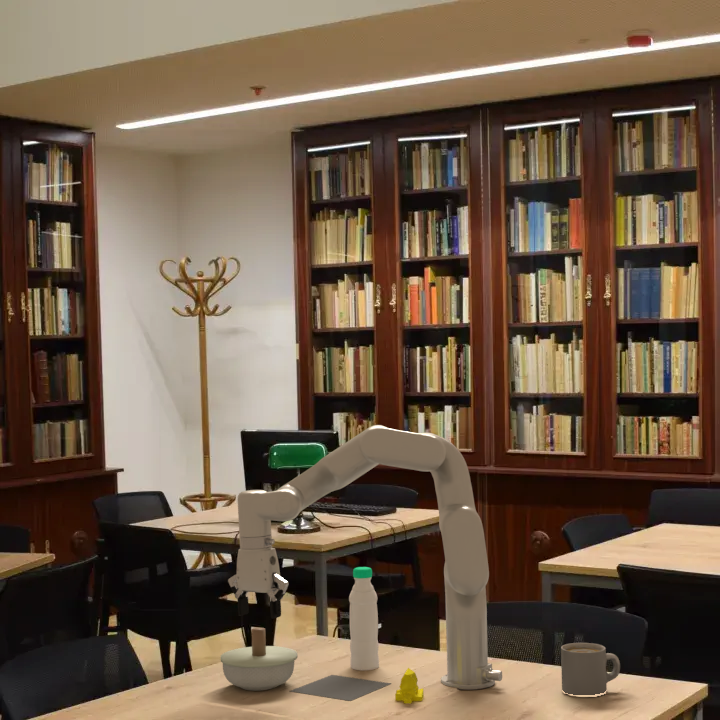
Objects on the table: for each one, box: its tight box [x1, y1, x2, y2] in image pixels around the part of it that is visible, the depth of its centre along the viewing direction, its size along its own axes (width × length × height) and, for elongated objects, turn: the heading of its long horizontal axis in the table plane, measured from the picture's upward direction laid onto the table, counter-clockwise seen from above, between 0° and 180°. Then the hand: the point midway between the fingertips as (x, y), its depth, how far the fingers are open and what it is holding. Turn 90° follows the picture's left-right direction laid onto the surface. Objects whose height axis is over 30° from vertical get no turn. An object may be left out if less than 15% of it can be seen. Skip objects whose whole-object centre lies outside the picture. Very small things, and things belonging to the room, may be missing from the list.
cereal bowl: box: [222, 660, 295, 692], centre depth 277 cm, size 17×17×7 cm
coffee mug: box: [560, 642, 621, 695], centre depth 266 cm, size 13×10×10 cm
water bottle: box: [348, 566, 380, 671], centre depth 292 cm, size 7×7×25 cm
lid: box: [220, 627, 298, 668], centre depth 277 cm, size 18×18×7 cm
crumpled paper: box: [394, 667, 425, 705], centre depth 262 cm, size 6×8×8 cm
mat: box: [289, 674, 392, 702], centre depth 273 cm, size 17×17×1 cm
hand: (259, 616), depth 277 cm, fingers open, 9 cm apart
